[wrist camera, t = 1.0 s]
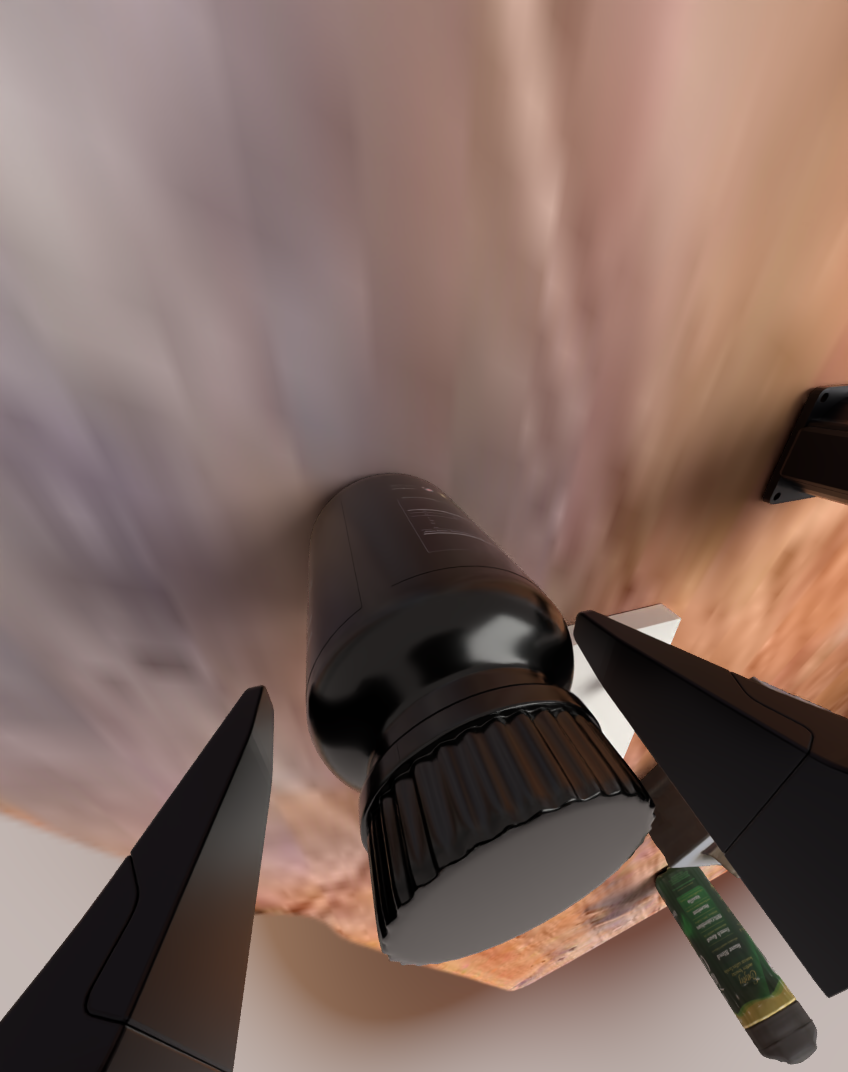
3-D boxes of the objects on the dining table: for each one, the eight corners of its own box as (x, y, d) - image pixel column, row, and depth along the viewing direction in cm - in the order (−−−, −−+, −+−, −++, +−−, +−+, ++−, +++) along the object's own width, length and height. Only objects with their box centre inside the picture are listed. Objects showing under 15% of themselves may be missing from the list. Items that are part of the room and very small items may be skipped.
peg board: (661, 603, 23) (729, 652, 19) (600, 770, 33) (637, 825, 29) (365, 674, 19) (377, 755, 15) (392, 842, 28) (404, 919, 24)
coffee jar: (649, 875, 56) (780, 1079, 40) (691, 851, 56) (838, 1045, 40) (652, 888, 61) (770, 1075, 45) (691, 866, 61) (821, 1044, 45)
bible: (689, 819, 49) (766, 914, 41) (602, 791, 36) (689, 923, 28) (831, 714, 45) (949, 796, 36) (790, 639, 32) (960, 741, 23)
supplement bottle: (414, 617, 18) (540, 962, 8) (283, 577, 15) (210, 1052, 5) (486, 507, 16) (778, 769, 6) (354, 436, 13) (483, 719, 3)
